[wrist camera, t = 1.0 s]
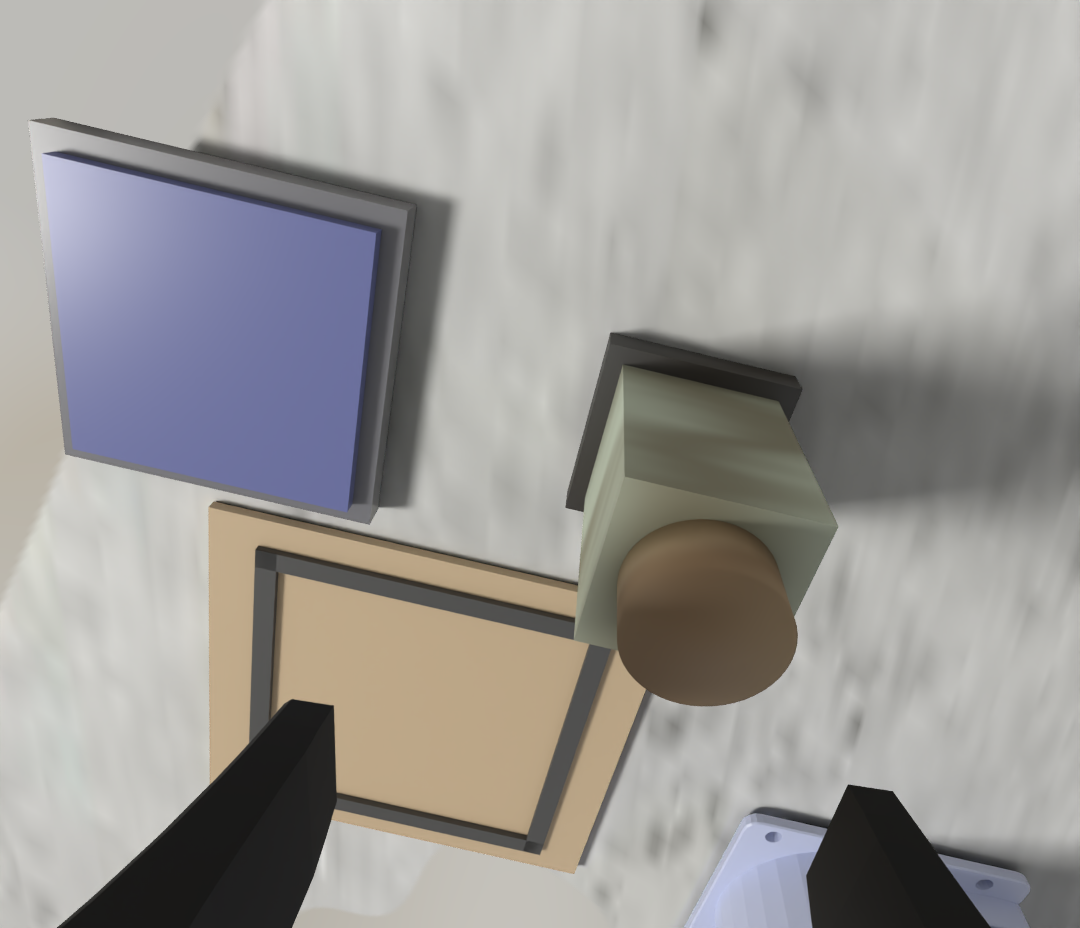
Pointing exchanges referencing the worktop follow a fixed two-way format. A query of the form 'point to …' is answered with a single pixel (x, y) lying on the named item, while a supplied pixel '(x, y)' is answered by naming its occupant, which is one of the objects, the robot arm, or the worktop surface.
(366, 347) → the ink pad
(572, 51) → the worktop surface
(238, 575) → the sheet
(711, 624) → the stamp
